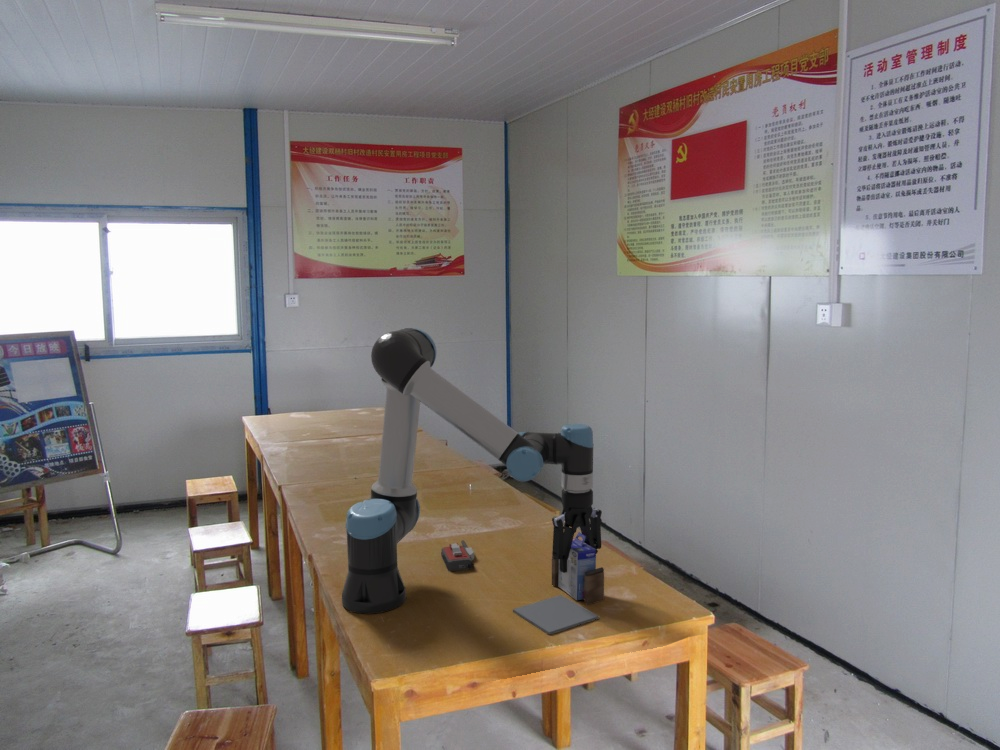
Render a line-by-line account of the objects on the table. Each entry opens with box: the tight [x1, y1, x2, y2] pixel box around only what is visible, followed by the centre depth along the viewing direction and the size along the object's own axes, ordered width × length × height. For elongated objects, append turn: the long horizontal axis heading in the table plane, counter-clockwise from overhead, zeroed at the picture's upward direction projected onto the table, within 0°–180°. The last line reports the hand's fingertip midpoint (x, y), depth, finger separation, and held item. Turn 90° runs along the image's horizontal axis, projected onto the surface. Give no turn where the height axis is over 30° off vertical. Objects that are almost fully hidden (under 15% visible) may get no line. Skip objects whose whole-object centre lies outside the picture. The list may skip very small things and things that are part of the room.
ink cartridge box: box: [557, 531, 597, 601], centre depth 186 cm, size 10×6×14 cm, turn 24°
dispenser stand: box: [551, 555, 605, 606], centre depth 187 cm, size 5×14×8 cm, turn 33°
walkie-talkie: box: [440, 539, 475, 572], centre depth 211 cm, size 9×4×20 cm
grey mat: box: [512, 594, 600, 636], centre depth 175 cm, size 14×14×1 cm
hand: (577, 580), depth 187 cm, fingers closed on ink cartridge box, 6 cm apart
